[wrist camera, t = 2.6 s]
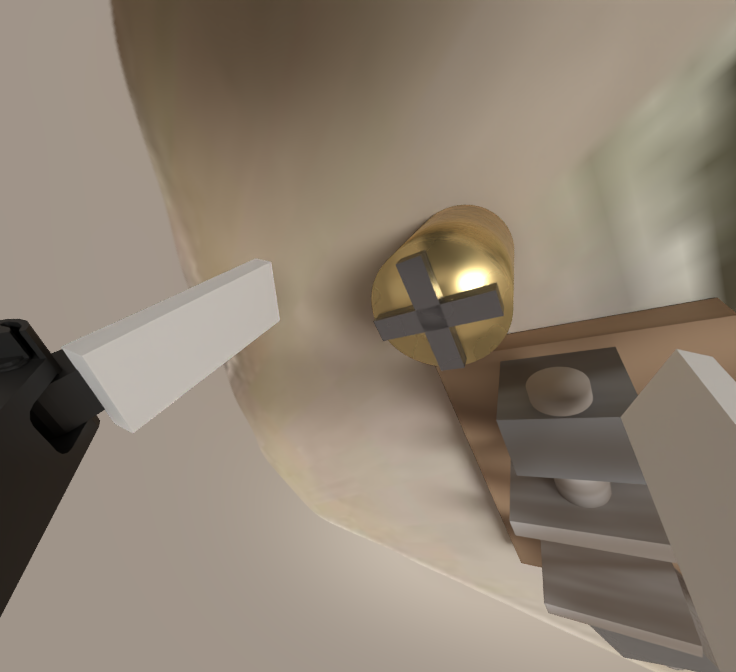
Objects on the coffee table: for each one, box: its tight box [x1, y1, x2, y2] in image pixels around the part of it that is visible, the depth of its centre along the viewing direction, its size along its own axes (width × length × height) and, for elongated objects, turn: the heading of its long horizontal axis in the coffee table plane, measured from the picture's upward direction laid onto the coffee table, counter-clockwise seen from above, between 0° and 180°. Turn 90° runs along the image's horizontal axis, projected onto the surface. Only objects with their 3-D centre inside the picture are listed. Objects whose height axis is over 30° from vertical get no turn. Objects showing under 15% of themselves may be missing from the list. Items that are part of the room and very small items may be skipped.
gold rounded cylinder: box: [371, 205, 514, 371], centre depth 13 cm, size 5×5×7 cm
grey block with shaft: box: [590, 566, 720, 672], centre depth 18 cm, size 6×5×4 cm
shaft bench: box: [435, 298, 736, 658], centre depth 17 cm, size 22×12×7 cm, turn 28°
